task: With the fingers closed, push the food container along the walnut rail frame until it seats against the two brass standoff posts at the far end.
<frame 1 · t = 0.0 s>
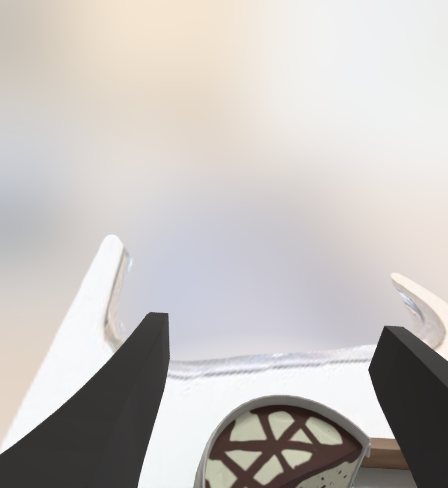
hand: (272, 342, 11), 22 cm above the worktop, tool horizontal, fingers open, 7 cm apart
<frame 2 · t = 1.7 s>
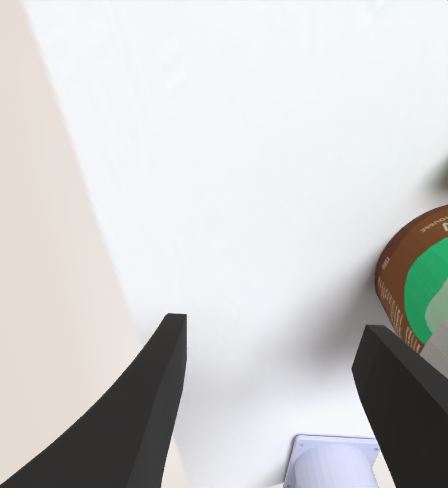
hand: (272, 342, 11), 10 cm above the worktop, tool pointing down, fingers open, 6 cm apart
food container: (439, 231, 20), on the worktop
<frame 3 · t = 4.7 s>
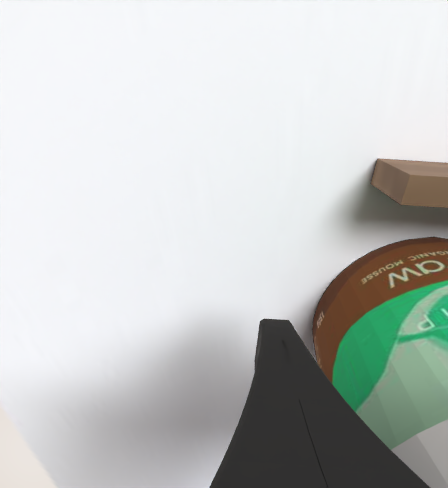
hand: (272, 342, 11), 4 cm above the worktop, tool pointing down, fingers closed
food container: (394, 275, 15), on the worktop, touching gripper
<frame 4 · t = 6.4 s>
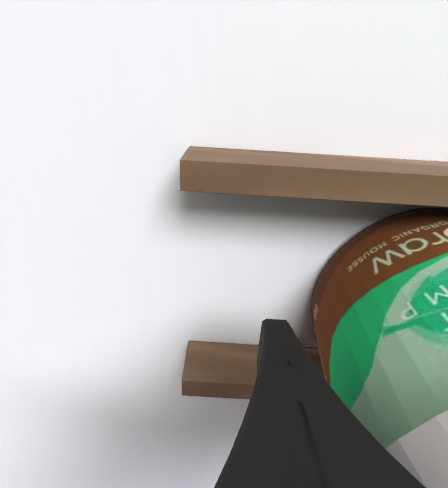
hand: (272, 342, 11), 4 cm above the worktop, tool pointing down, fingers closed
rail frame: (403, 281, 15), on the worktop
food container: (386, 254, 14), on the worktop, touching gripper
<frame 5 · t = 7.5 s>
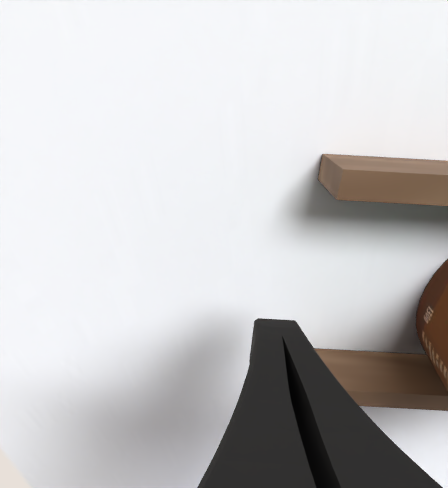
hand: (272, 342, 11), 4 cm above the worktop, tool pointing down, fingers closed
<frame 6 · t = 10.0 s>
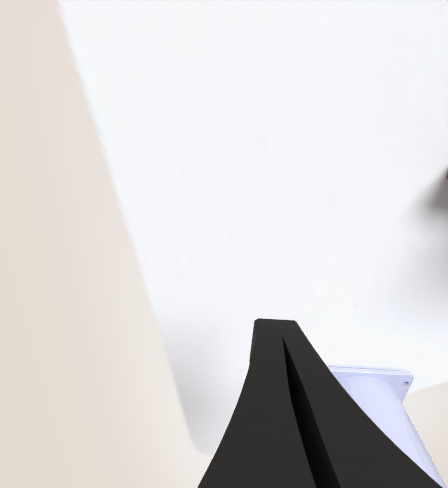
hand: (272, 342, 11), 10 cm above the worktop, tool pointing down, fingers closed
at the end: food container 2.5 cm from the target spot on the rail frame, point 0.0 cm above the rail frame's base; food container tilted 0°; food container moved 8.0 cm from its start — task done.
